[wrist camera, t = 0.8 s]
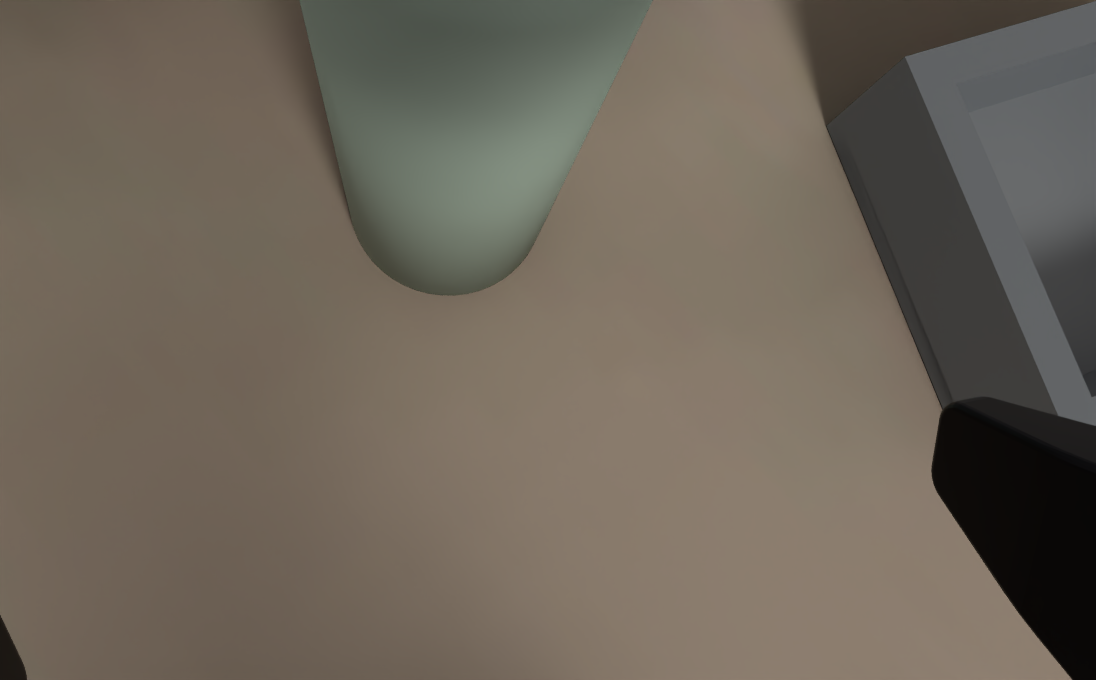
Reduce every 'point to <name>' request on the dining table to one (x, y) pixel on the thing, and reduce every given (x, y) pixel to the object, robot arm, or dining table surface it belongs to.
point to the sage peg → (461, 122)
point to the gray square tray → (989, 208)
